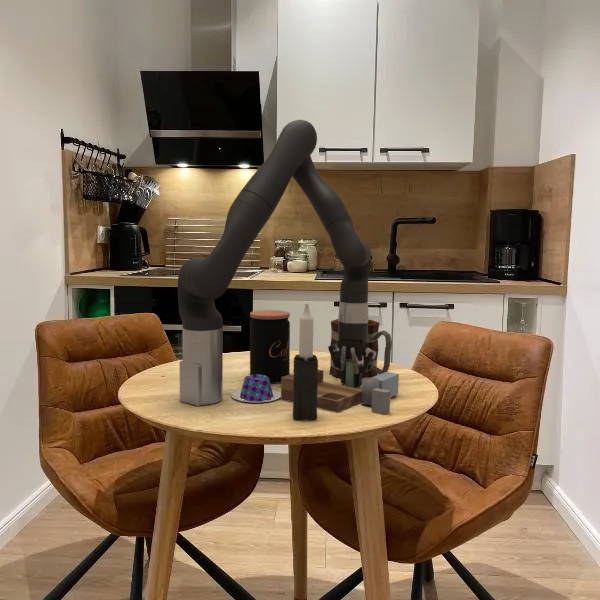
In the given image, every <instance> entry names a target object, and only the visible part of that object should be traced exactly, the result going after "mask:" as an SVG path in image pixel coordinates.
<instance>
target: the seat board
mask: <svg viewBox="0 0 600 600" xmlns="http://www.w3.org/2000/svg"><path fill="white" fill-rule="evenodd" d="M293 377H294V374H291V373H290V374H289V375H287V376H283V377H281V382H280V393H281V397H280V400H281V401H282V400H283V401H286V402H292V403H293ZM361 393H362V388H352V387H347V386H343V385H342V384H336V383H331V382H325V381H324V370H323V369H318V388H317V409H320V410H321V409H322V410H326V411H331V412H333V411H334V412H333V413H340V412H342V411H344V410H346V409H348V408H351V407H353V406H355V405H357V404H360V403H361Z"/></svg>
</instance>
